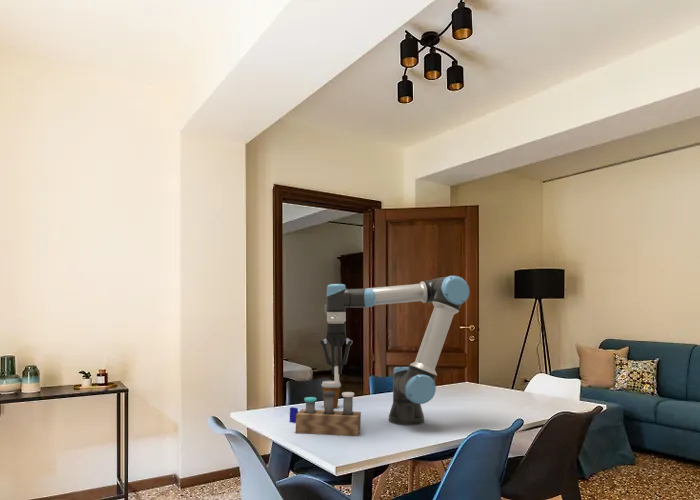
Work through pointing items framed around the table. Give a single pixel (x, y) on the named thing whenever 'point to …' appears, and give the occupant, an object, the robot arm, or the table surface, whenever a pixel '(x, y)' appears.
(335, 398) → the disposable coffee cup
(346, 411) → the plug grey
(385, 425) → the table surface
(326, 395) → the plug black
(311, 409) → the plug teal
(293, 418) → the blue u-shaped block
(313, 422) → the socket block
